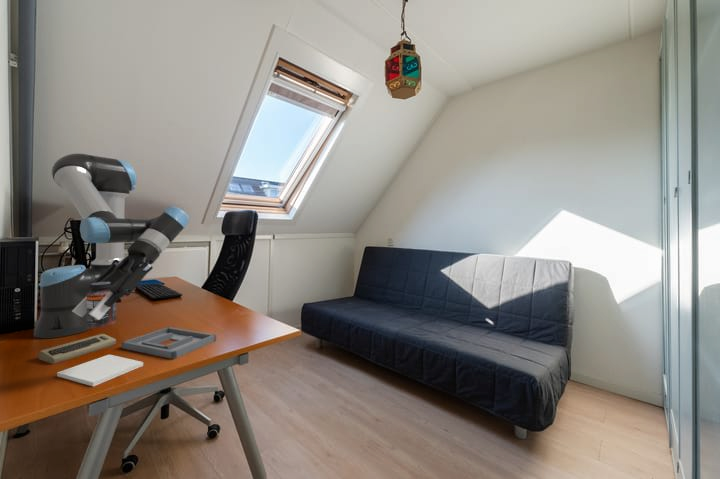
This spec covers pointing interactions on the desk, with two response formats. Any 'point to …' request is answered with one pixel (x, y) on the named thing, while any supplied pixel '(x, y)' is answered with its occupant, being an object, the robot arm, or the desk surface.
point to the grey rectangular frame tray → (183, 344)
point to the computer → (76, 348)
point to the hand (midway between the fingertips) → (85, 315)
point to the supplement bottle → (93, 299)
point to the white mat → (100, 370)
